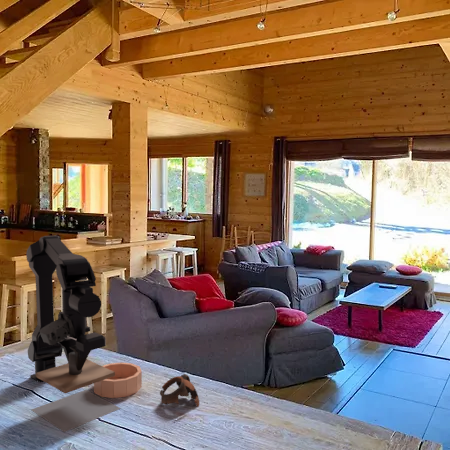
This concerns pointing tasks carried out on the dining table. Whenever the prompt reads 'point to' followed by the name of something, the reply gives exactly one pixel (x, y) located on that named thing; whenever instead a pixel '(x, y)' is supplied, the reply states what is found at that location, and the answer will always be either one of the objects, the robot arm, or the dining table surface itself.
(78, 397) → the felt mat
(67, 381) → the walnut lid
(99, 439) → the dining table surface
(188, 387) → the brown curved piece
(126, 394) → the terracotta bowl
